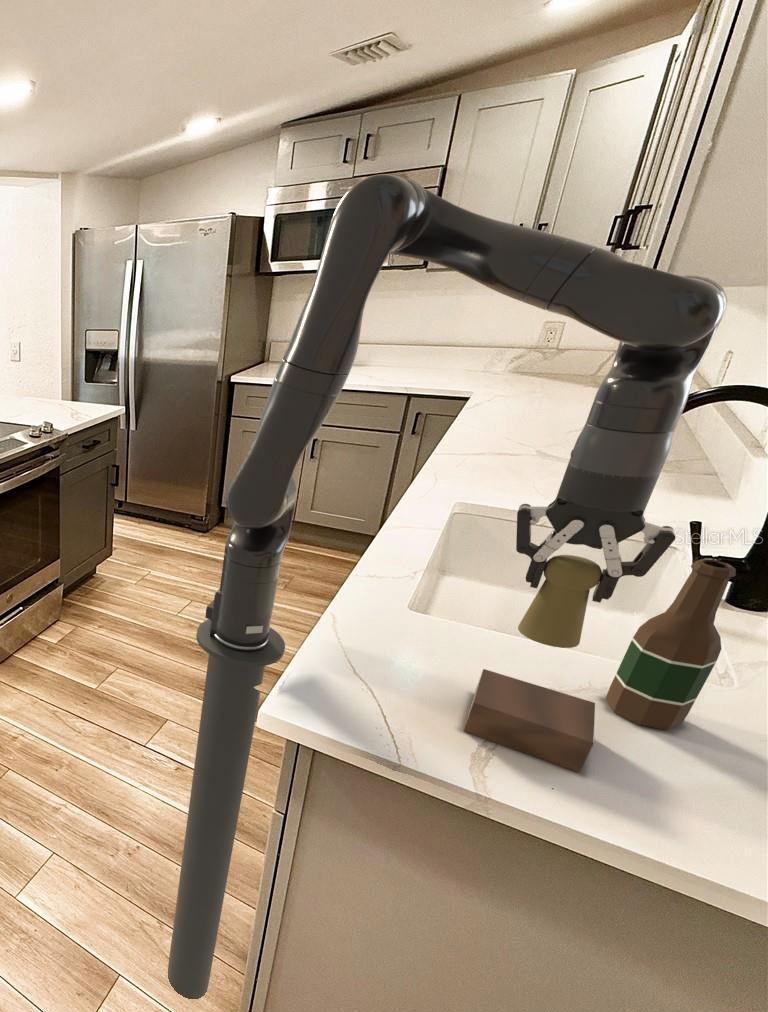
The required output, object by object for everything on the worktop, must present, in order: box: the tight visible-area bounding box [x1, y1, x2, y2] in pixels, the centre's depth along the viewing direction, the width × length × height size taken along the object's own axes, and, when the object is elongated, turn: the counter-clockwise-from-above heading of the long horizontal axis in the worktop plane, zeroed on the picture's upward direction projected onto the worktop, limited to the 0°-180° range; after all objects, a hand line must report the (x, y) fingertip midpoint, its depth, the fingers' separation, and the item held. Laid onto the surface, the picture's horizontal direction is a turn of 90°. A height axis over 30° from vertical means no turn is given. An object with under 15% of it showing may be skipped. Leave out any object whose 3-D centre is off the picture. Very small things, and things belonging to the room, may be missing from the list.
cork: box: [517, 554, 603, 649], centre depth 78 cm, size 6×6×11 cm
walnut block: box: [463, 668, 596, 774], centre depth 85 cm, size 12×10×5 cm
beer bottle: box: [605, 558, 737, 731], centre depth 83 cm, size 8×8×24 cm
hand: (564, 591), depth 77 cm, fingers closed on cork, 5 cm apart
